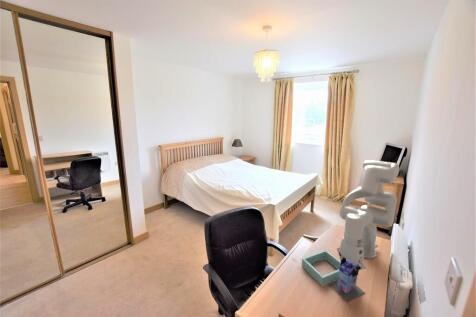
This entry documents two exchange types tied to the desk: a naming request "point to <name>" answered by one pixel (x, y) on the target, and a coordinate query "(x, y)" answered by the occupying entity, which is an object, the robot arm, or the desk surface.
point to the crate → (321, 279)
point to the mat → (351, 294)
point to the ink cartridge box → (346, 277)
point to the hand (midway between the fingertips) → (348, 270)
